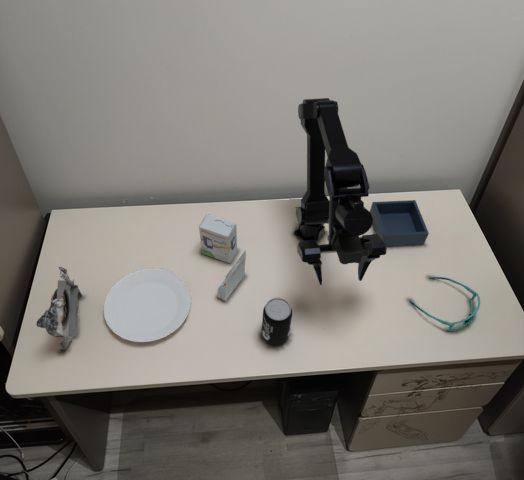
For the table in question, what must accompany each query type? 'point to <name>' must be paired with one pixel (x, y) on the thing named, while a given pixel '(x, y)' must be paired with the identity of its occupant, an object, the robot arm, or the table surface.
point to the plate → (147, 305)
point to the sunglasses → (466, 320)
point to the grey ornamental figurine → (62, 311)
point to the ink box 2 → (232, 278)
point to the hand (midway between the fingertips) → (340, 282)
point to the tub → (399, 223)
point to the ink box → (218, 238)
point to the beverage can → (276, 321)
